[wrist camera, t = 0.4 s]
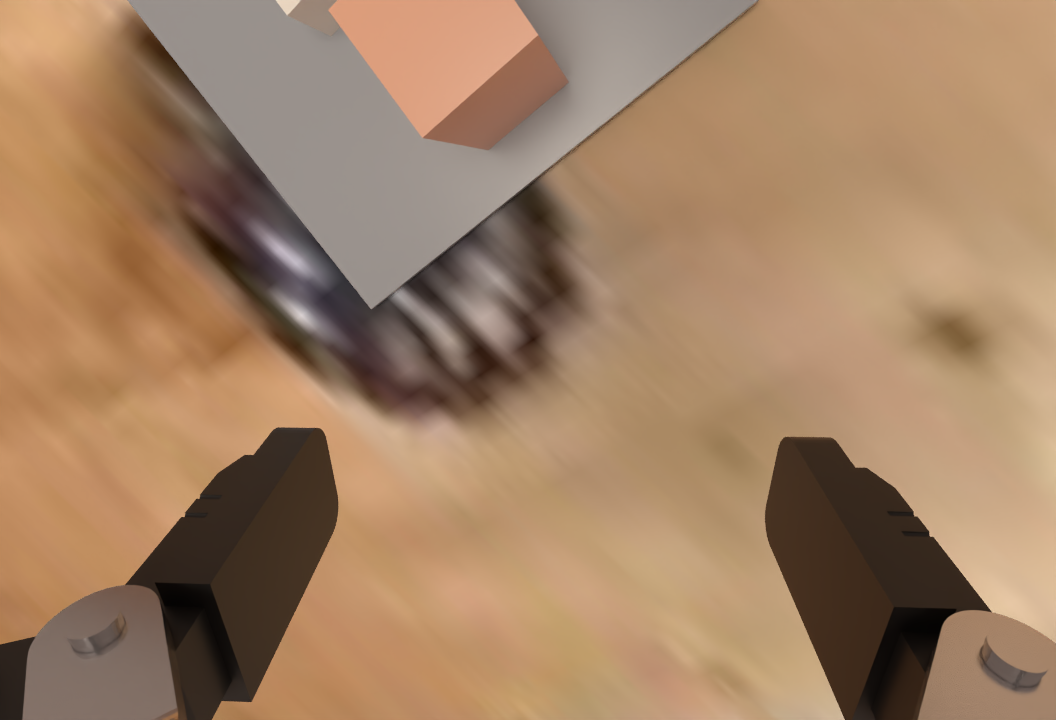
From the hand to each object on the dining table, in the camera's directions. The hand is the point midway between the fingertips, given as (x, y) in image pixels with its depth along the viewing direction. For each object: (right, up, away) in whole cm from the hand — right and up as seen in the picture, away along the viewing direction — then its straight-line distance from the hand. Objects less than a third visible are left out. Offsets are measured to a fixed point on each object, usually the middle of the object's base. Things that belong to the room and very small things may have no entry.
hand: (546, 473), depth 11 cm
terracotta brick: (-2, +16, +18) cm, 24 cm away
